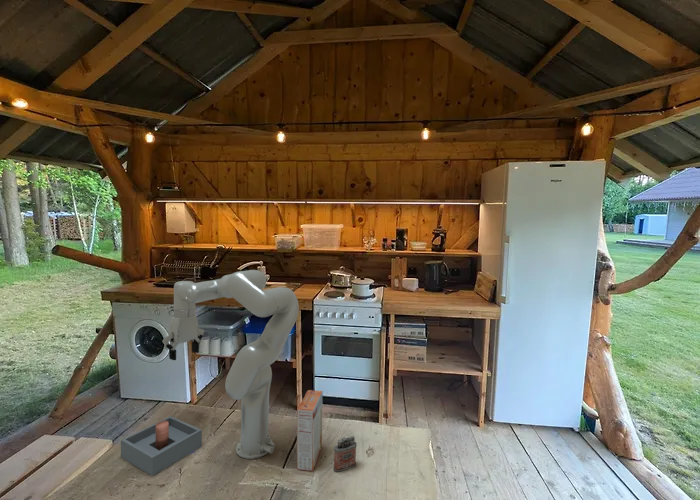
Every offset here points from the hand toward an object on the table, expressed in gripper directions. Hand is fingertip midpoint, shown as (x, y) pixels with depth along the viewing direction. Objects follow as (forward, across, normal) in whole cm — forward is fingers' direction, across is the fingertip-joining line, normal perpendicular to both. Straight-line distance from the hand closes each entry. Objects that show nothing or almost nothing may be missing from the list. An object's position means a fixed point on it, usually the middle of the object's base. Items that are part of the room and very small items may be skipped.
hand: (184, 355), depth 134 cm
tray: (+28, +14, +8) cm, 33 cm away
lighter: (+28, -12, +67) cm, 74 cm away
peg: (+28, +14, +8) cm, 33 cm away
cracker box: (+28, -10, +54) cm, 62 cm away
